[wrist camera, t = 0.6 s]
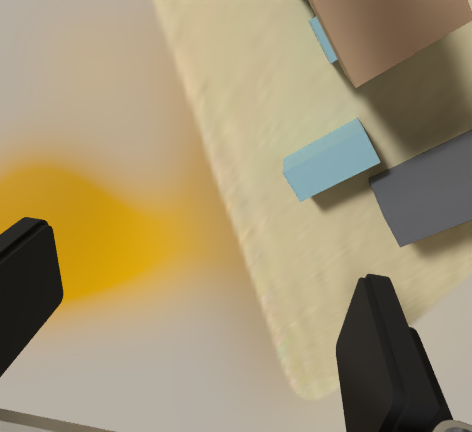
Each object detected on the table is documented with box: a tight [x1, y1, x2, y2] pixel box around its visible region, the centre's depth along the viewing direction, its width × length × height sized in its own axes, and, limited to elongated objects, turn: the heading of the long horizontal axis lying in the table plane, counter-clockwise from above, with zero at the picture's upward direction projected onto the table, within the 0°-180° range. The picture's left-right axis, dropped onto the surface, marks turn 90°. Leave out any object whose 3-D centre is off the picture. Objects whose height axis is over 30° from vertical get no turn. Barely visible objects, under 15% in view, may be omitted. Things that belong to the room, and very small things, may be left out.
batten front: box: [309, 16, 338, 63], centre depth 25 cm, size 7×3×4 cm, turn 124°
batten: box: [283, 118, 381, 202], centre depth 30 cm, size 7×3×4 cm, turn 124°
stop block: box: [368, 130, 472, 247], centre depth 28 cm, size 10×3×7 cm, turn 124°
